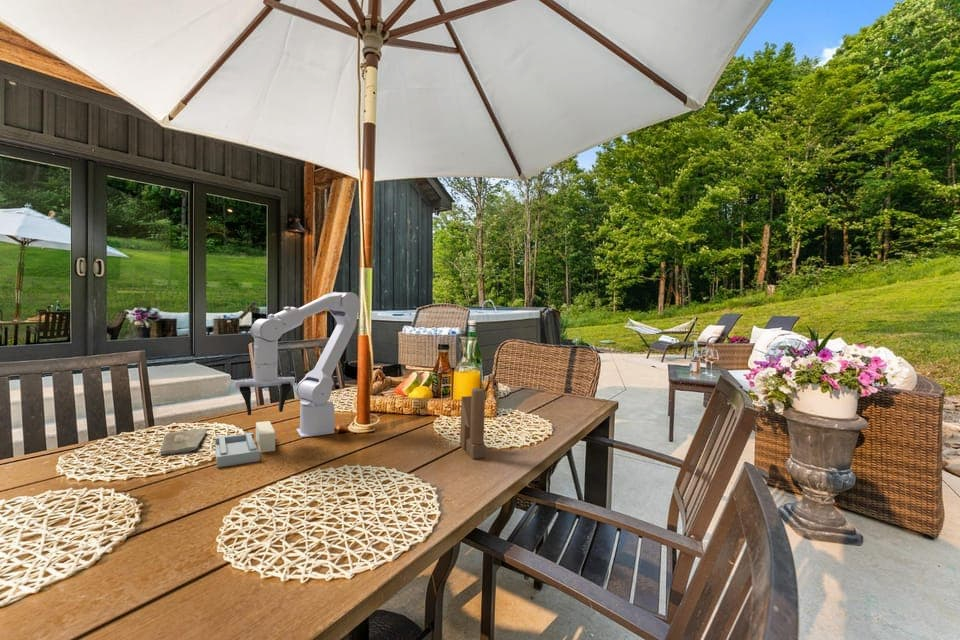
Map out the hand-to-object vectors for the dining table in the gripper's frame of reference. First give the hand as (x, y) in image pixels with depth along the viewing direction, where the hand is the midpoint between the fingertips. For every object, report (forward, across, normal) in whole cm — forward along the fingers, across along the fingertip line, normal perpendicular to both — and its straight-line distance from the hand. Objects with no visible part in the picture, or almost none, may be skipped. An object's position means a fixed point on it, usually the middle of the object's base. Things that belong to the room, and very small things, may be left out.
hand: (265, 412), depth 117 cm
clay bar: (+9, 0, 0) cm, 9 cm away
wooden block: (+9, +48, -31) cm, 57 cm away
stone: (+10, -19, +11) cm, 24 cm away
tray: (+9, -7, -4) cm, 12 cm away
